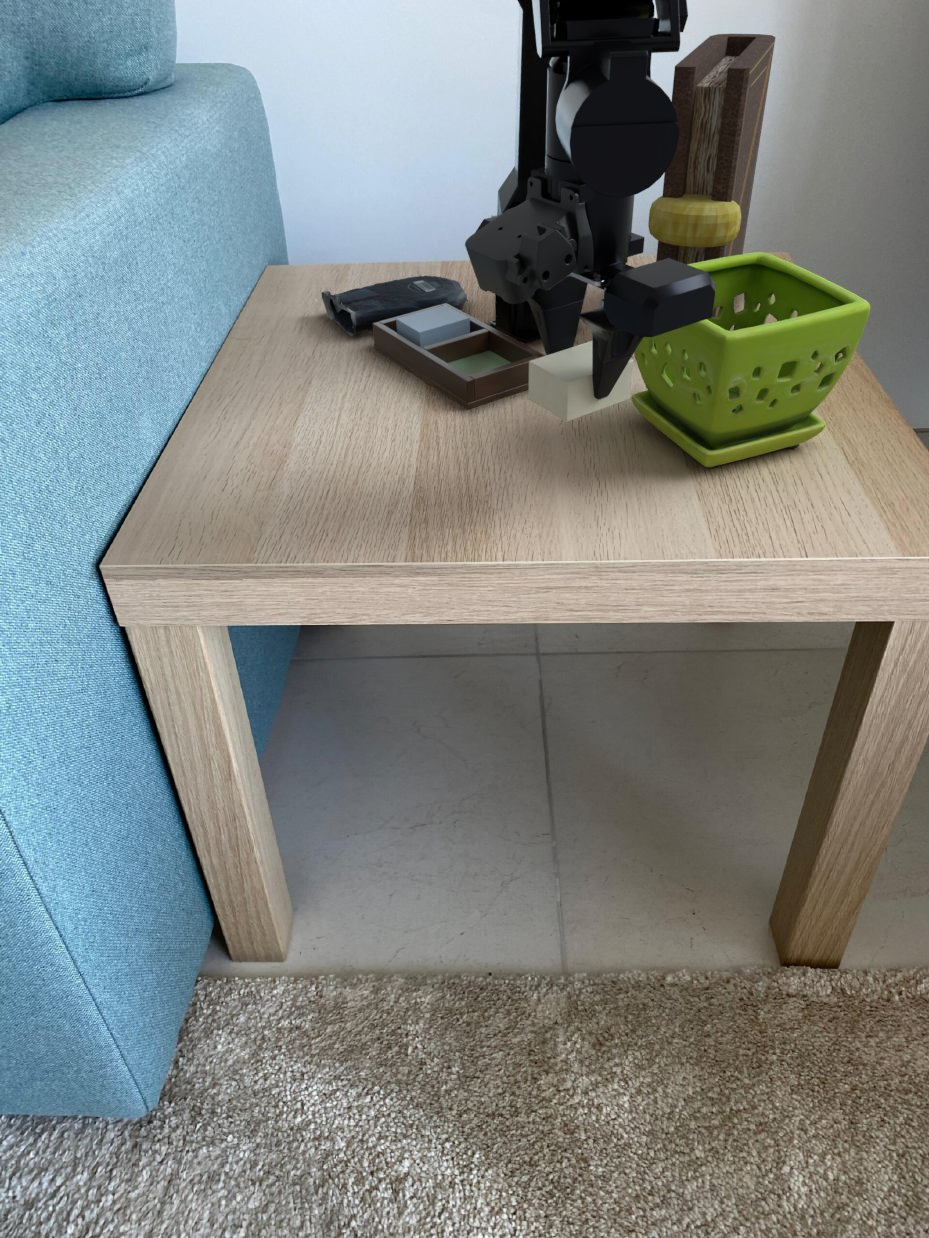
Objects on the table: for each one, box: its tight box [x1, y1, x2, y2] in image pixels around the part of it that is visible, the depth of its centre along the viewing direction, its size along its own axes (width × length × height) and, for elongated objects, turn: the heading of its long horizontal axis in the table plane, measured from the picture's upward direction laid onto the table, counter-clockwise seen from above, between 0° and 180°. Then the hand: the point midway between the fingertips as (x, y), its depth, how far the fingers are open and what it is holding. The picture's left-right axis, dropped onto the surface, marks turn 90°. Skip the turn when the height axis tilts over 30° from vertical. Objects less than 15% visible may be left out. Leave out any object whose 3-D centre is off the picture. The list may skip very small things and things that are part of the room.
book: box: [647, 33, 776, 317], centre depth 93 cm, size 22×8×25 cm, turn 159°
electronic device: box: [321, 275, 469, 337], centre depth 103 cm, size 9×6×15 cm
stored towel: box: [396, 305, 470, 348], centre depth 95 cm, size 6×4×3 cm
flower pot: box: [631, 251, 871, 469], centre depth 77 cm, size 14×14×13 cm
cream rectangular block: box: [527, 340, 634, 423], centre depth 68 cm, size 6×4×3 cm
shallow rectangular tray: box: [372, 303, 546, 410], centre depth 93 cm, size 9×17×3 cm, turn 34°
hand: (579, 385), depth 68 cm, fingers closed on cream rectangular block, 4 cm apart
